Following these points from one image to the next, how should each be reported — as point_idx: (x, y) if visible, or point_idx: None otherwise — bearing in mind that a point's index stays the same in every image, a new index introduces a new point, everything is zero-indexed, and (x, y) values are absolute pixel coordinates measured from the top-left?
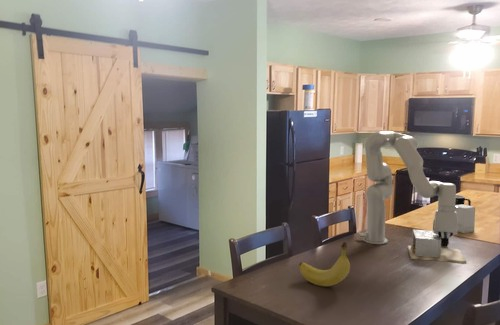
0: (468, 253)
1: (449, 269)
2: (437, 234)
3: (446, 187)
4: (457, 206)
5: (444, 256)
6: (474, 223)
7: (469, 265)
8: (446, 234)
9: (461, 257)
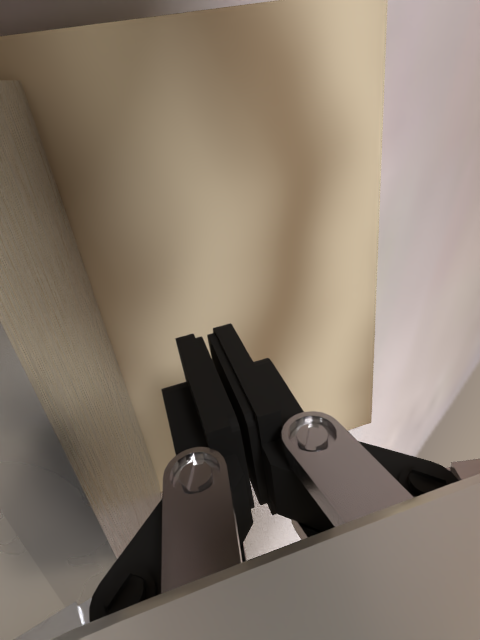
0: (467, 60)
1: None
2: (83, 539)
3: None
4: None
5: None
6: None
7: (371, 440)
8: (308, 490)
9: (351, 350)
